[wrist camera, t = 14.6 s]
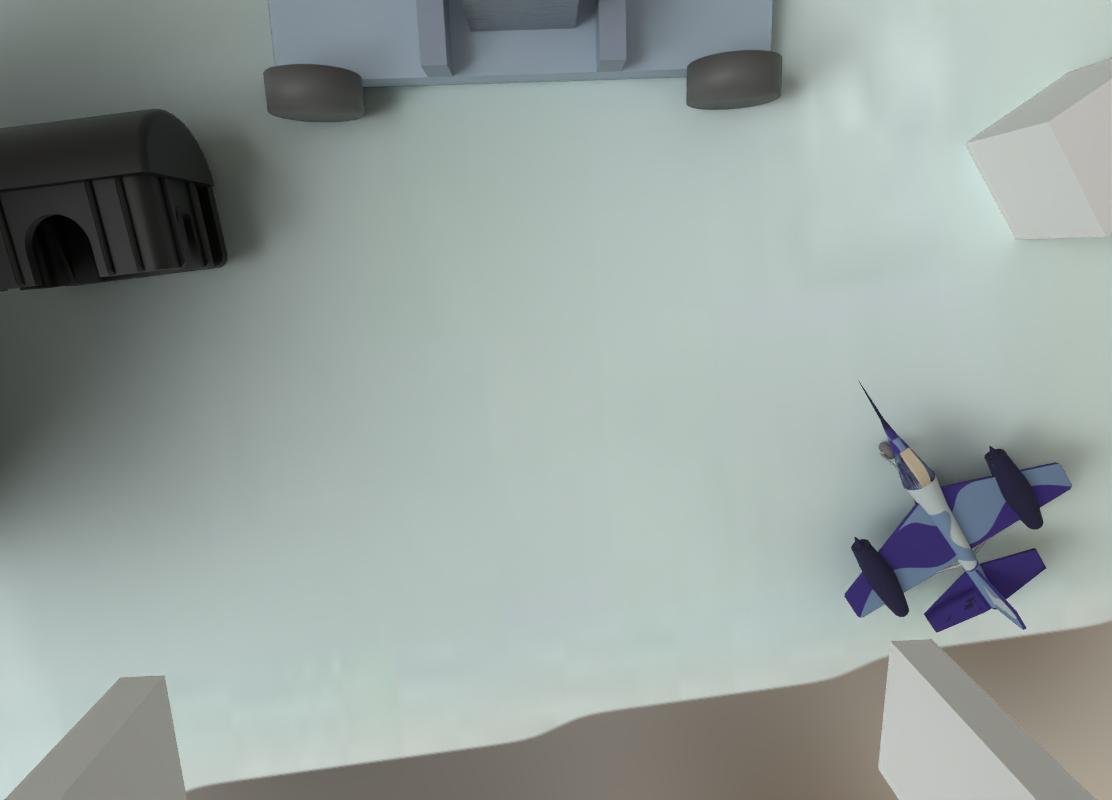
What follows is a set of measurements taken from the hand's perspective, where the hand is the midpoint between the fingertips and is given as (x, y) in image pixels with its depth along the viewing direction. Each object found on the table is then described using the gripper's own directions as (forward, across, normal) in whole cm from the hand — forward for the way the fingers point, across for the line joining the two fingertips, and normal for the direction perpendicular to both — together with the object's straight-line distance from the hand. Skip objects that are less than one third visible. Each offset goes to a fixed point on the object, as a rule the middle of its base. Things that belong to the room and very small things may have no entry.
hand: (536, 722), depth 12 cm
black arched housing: (+27, -21, +11) cm, 36 cm away
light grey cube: (+26, +27, +12) cm, 40 cm away
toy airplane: (+26, +22, -7) cm, 35 cm away
